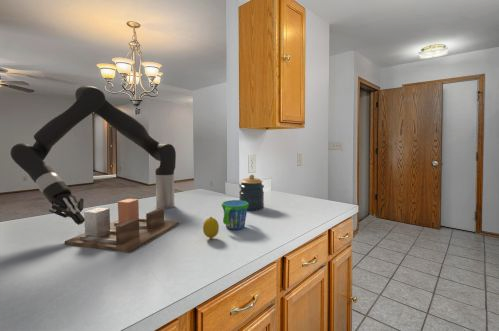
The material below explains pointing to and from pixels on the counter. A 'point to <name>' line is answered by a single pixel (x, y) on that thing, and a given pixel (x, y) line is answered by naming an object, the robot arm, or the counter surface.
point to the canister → (252, 193)
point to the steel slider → (97, 222)
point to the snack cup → (235, 214)
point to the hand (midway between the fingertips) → (81, 222)
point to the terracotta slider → (128, 210)
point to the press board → (128, 233)
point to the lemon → (210, 227)
